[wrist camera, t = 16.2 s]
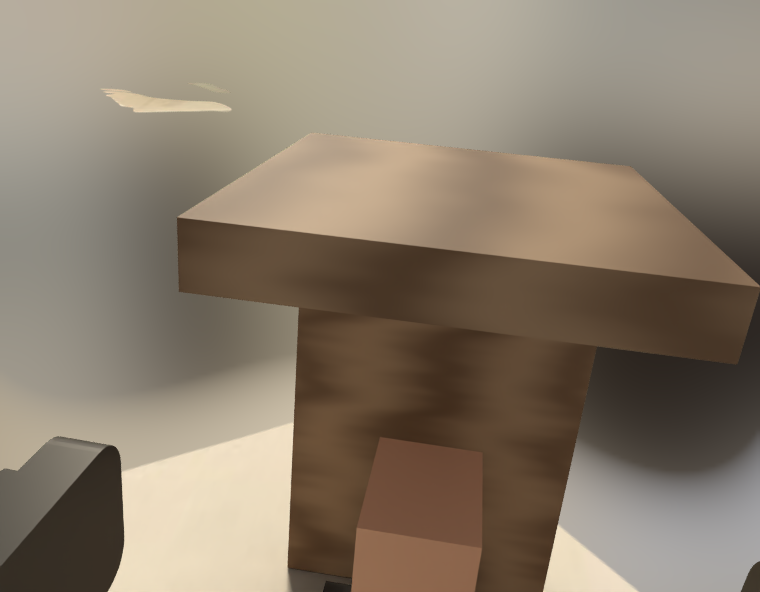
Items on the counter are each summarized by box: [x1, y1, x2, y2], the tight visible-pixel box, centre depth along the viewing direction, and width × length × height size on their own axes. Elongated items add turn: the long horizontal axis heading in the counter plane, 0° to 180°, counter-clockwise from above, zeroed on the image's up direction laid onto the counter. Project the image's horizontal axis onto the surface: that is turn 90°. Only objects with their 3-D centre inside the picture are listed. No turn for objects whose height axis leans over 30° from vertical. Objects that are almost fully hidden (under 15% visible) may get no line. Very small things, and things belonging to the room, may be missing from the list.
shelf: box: [177, 133, 760, 592], centre depth 29 cm, size 14×16×24 cm
